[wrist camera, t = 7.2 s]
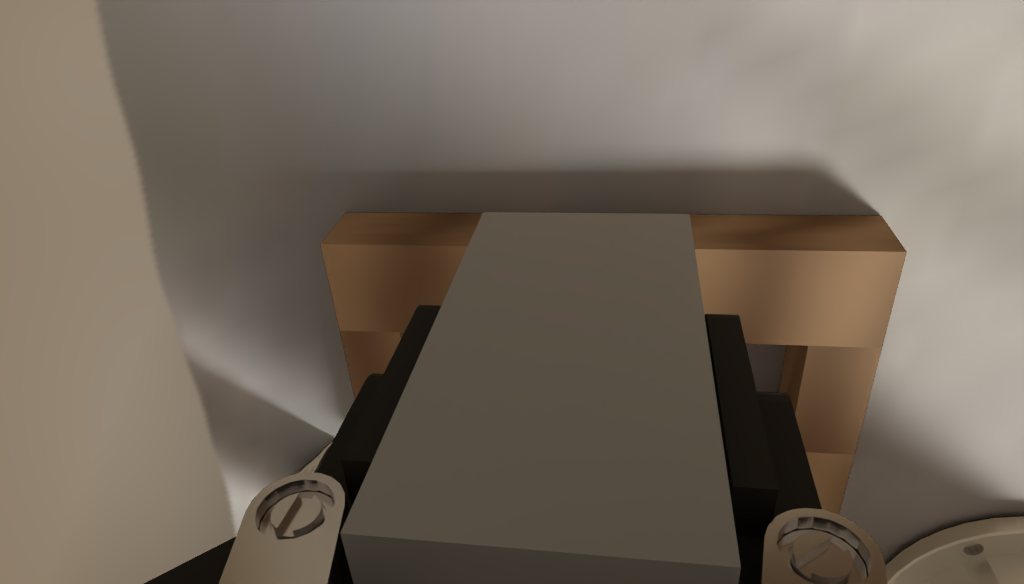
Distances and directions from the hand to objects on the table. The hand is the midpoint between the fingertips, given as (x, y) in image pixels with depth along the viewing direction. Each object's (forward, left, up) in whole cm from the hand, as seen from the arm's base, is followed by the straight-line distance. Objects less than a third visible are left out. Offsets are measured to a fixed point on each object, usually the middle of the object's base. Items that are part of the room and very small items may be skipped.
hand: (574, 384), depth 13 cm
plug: (0, 0, -3) cm, 3 cm away
